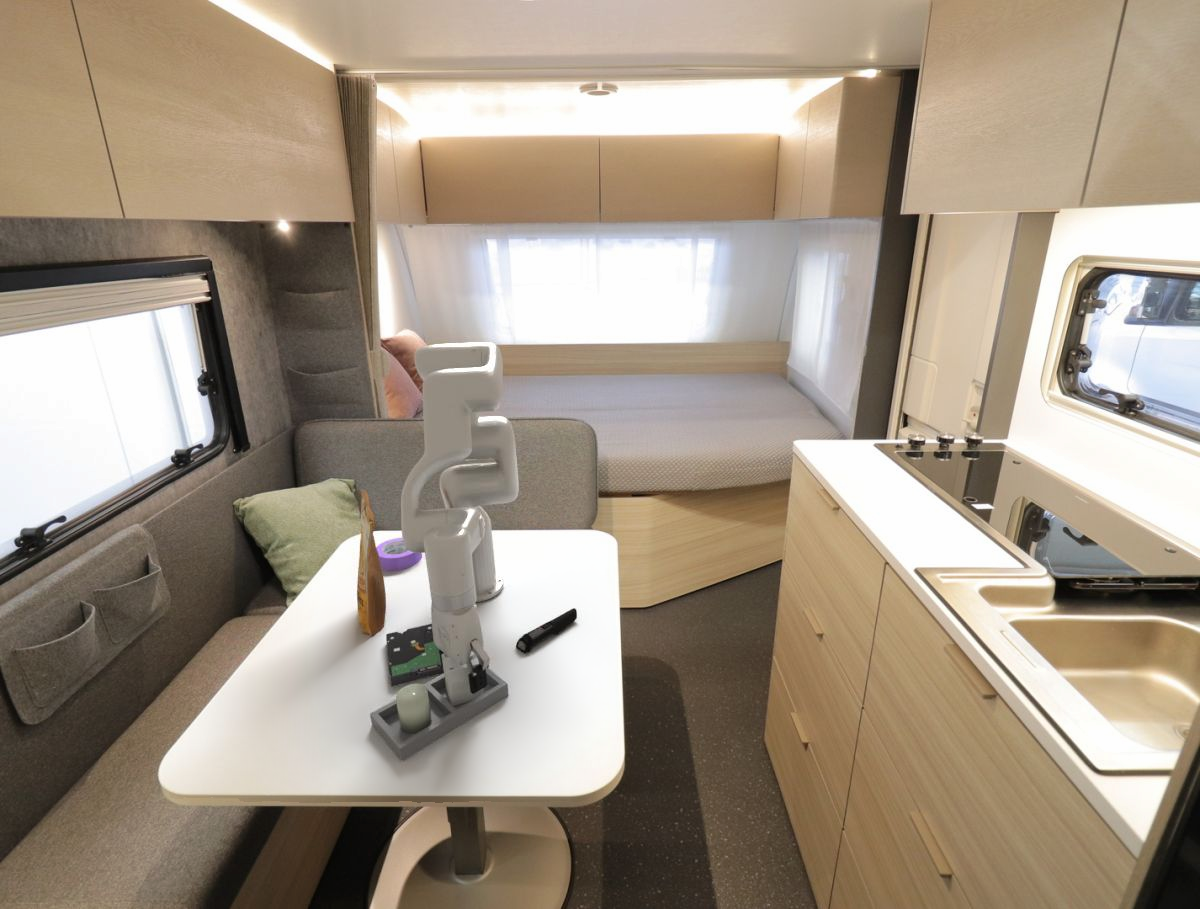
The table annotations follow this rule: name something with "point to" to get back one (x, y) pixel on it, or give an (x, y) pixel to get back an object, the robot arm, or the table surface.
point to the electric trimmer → (546, 631)
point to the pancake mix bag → (370, 576)
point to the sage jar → (413, 708)
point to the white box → (458, 680)
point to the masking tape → (396, 555)
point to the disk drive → (412, 655)
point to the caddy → (435, 715)
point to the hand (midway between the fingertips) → (464, 676)
